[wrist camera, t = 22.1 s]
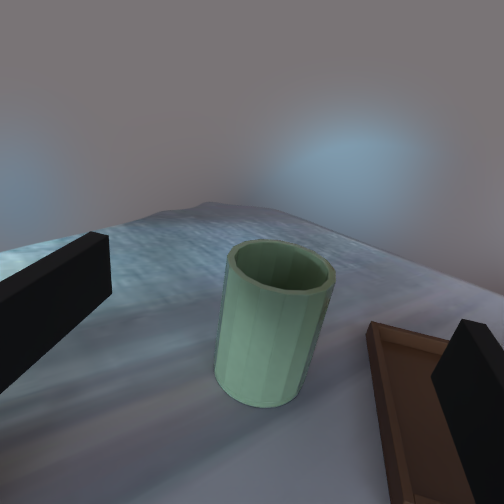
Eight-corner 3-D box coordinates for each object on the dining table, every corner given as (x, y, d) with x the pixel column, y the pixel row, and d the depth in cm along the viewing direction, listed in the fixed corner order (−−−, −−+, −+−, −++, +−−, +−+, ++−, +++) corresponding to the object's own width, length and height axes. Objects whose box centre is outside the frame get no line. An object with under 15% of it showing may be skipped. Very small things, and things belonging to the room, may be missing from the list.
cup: (306, 349, 30) (335, 252, 25) (299, 420, 23) (336, 307, 19) (228, 328, 31) (242, 231, 26) (200, 391, 24) (213, 276, 20)
